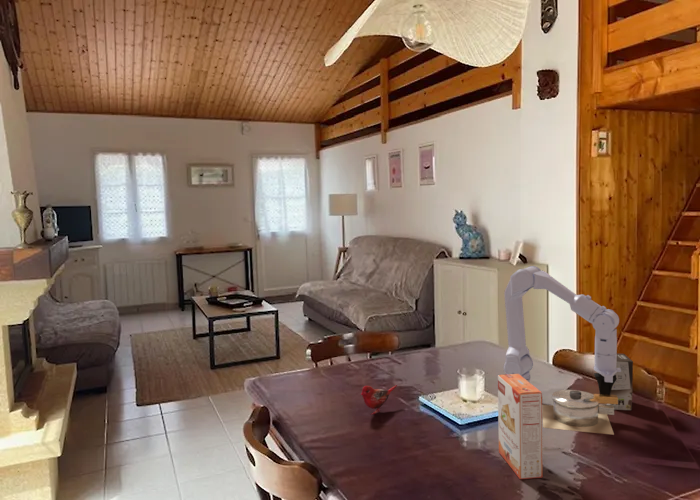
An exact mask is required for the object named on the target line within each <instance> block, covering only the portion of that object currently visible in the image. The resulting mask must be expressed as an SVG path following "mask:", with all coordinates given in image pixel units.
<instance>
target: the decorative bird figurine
mask: <svg viewBox="0 0 700 500" xmlns="http://www.w3.org/2000/svg"><path fill="white" fill-rule="evenodd" d="M397 386H398V384H395V385H394V386H392V387H390V388H389V389H388V390H387V389H380V388H379V389H378V388H377V389H376V388H373V387H372V386H370V385H364V386H363V387H362V389H361V393H360V396H362V398H363V402H364V404H365V406H367V407H368V408H369V409H373V410H375V409H376V410H375V411H373V413H370V414H369V415H370V416H371V415H376V414H377V413H379V412H380V411H381V409H380V408H381V407H382V406H383V405H385V403H386V402H387V400H388V399H389V396H390V394H391V393H392V392H393V391H394V390H395V389H396V388H397Z"/></svg>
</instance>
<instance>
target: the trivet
mask: <svg viewBox="0 0 700 500" xmlns="http://www.w3.org/2000/svg"><path fill="white" fill-rule="evenodd" d="M543 428H544V429H552V430H553V429H554V430H564V431H572V432H573V431H574V432H581V433H582V432H583V433H594V434H603V435H613V436H614V435H615V433H614V430H613V428H612V424H611V422H610V419H609V416H608V414H599V413H598V423H597V424H596V425H594V426H589V427H576V426H570V425H566V424H563V423H560V422H558V421H557V420H555V419H554V417H553V404H550V405H549V404H542V429H543Z"/></svg>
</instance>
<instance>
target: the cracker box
mask: <svg viewBox="0 0 700 500" xmlns="http://www.w3.org/2000/svg"><path fill="white" fill-rule="evenodd" d="M542 405H543V392H542V391H540V389H538V388H537V387H536V386H535V385H533V384H532V383H531V382H530V383H529V382H528V381H527V380H526V379H524V378H523V377H522V376H521V375H519V374H498V375H497V409H498V411H497V412H498V413H497V414H498V417H497V419H498V421H497V422H498V423H497V424H498V453H499V454H500V456H501V458H502V459H504V461H505V462H506V463H507V464H508V466H509V467H510V468H511V471H513V472H514V474H515V475H516V476H517V477H518V479H519V480H528V479H541V478H543V476H544V475H543V471H544V470H543V461H544V460H543V416H542Z"/></svg>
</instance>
